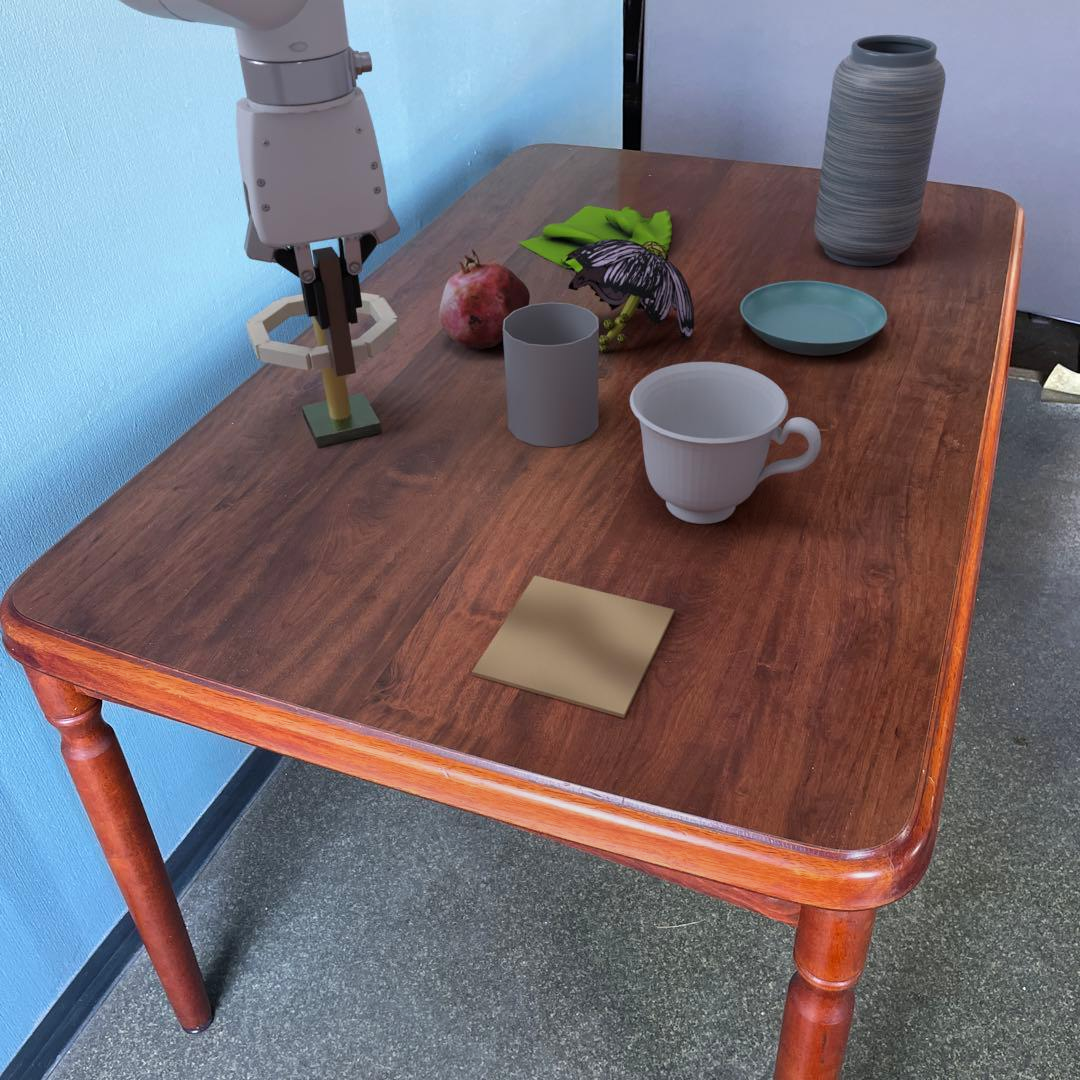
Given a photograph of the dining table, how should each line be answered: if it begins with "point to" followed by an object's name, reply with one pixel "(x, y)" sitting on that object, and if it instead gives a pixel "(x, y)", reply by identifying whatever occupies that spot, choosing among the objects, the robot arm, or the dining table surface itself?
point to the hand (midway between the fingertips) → (335, 318)
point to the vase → (878, 148)
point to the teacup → (713, 436)
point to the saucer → (812, 316)
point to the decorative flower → (633, 284)
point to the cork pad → (576, 645)
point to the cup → (552, 373)
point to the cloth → (598, 232)
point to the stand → (338, 409)
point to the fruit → (480, 302)
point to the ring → (339, 343)
